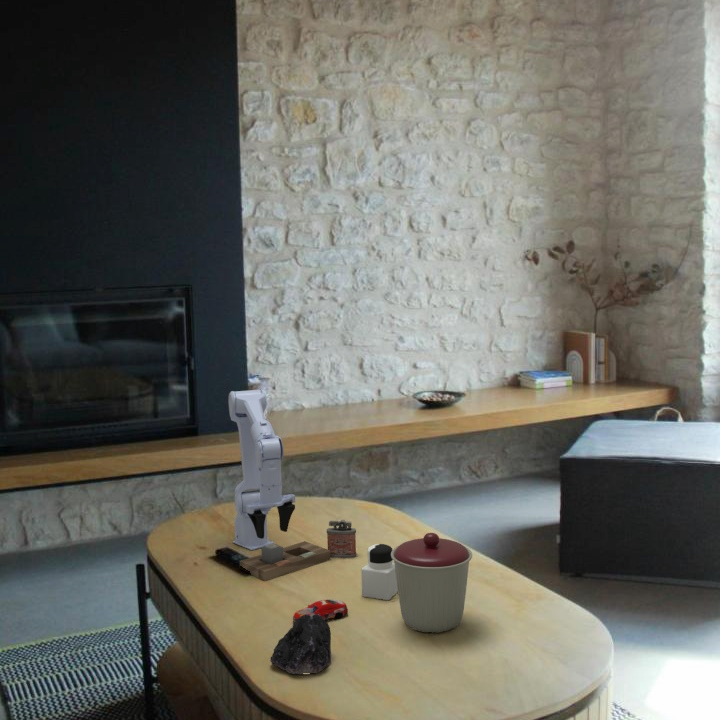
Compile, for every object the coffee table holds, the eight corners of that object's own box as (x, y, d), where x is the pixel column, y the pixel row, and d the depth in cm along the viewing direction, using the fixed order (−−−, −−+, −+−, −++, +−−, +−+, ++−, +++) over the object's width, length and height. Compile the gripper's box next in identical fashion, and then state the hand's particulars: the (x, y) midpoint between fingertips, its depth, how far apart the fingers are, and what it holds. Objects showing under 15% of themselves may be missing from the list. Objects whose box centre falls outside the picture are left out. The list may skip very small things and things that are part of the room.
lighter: (357, 554, 260) (356, 518, 259) (356, 558, 257) (355, 522, 255) (328, 553, 261) (327, 518, 259) (326, 557, 258) (325, 522, 256)
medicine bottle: (399, 590, 233) (399, 543, 232) (388, 601, 227) (387, 552, 225) (373, 586, 236) (372, 540, 235) (361, 596, 230) (360, 549, 228)
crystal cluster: (281, 686, 188) (285, 639, 186) (260, 653, 200) (263, 609, 198) (343, 676, 193) (347, 631, 191) (319, 645, 205) (322, 602, 203)
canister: (379, 616, 218) (377, 527, 215) (448, 602, 225) (447, 516, 222) (414, 647, 202) (412, 552, 199) (487, 631, 209) (487, 539, 206)
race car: (298, 630, 212) (297, 613, 212) (289, 622, 217) (288, 605, 217) (351, 618, 218) (350, 601, 218) (340, 610, 223) (340, 593, 222)
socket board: (239, 570, 250) (239, 559, 249) (305, 549, 264) (304, 540, 264) (265, 581, 242) (264, 570, 241) (330, 559, 256) (330, 549, 256)
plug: (262, 569, 250) (261, 545, 249) (274, 565, 253) (273, 542, 252) (271, 572, 247) (270, 549, 246) (283, 568, 250) (282, 545, 249)
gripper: (256, 492, 239) (258, 544, 241) (301, 481, 249) (303, 531, 251) (240, 487, 244) (242, 537, 246) (285, 476, 254) (287, 525, 256)
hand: (272, 534), depth 249 cm, fingers open, 7 cm apart
